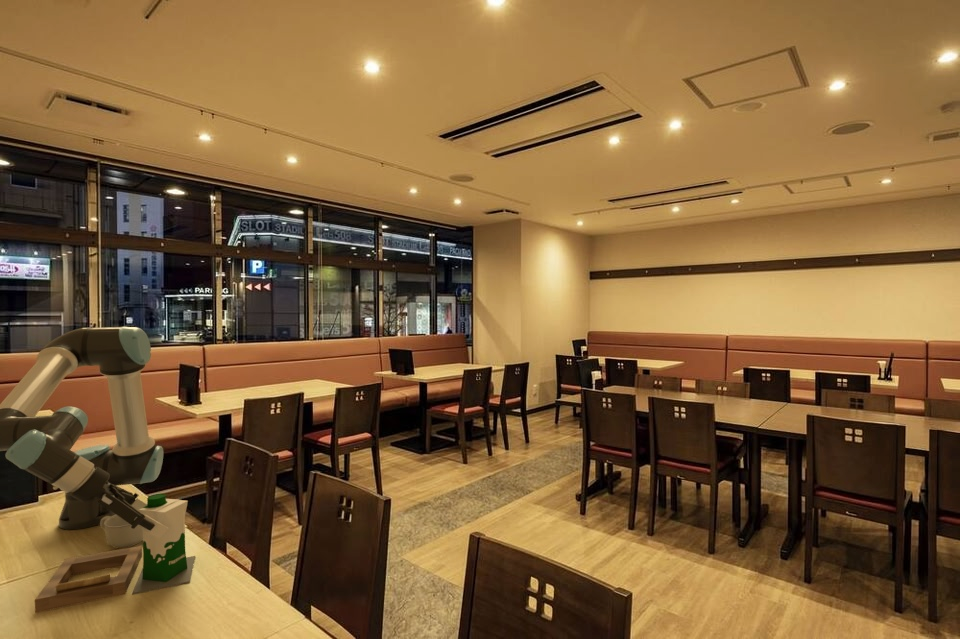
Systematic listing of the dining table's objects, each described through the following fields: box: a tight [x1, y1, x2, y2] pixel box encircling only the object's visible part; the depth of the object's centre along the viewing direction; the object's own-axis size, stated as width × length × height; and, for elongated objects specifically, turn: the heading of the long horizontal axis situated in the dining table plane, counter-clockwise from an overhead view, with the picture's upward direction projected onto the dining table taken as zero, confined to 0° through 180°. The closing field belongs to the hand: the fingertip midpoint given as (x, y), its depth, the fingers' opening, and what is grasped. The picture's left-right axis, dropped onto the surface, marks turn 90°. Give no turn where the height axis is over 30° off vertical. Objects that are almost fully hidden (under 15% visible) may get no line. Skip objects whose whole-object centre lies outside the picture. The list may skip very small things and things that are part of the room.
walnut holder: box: [34, 545, 143, 613], centre depth 125 cm, size 20×17×5 cm
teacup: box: [99, 515, 143, 549], centre depth 146 cm, size 14×11×8 cm
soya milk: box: [138, 493, 189, 582], centre depth 128 cm, size 9×9×20 cm
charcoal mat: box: [131, 555, 196, 595], centre depth 128 cm, size 14×12×1 cm
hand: (159, 524), depth 127 cm, fingers open, 13 cm apart
